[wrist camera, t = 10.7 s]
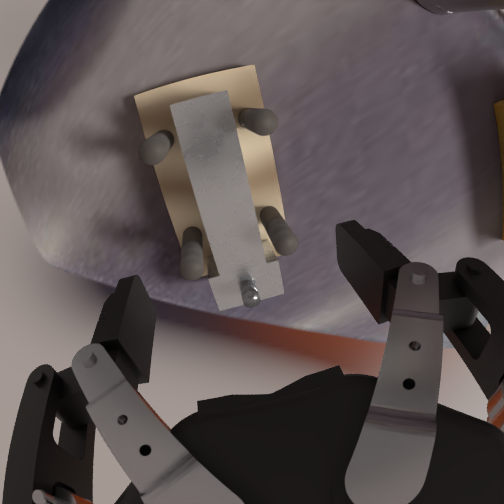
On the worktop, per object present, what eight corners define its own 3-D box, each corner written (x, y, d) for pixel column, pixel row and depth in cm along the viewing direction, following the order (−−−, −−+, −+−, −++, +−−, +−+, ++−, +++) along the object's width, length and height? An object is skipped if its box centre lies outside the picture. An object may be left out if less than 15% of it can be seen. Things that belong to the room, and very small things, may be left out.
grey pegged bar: (162, 108, 21) (150, 110, 16) (235, 89, 21) (246, 84, 16) (216, 285, 30) (221, 325, 24) (274, 270, 30) (290, 307, 25)
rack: (136, 96, 21) (113, 93, 15) (251, 66, 21) (271, 52, 15) (192, 272, 30) (192, 318, 24) (287, 247, 30) (310, 287, 24)
